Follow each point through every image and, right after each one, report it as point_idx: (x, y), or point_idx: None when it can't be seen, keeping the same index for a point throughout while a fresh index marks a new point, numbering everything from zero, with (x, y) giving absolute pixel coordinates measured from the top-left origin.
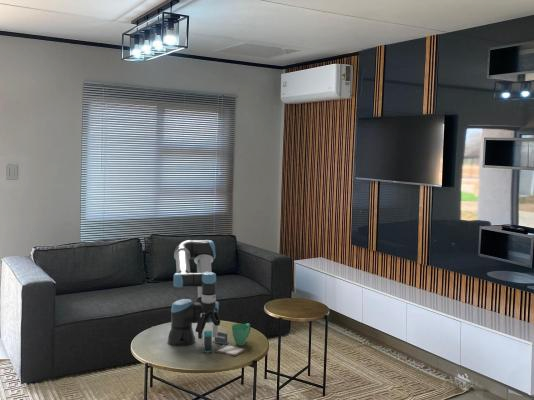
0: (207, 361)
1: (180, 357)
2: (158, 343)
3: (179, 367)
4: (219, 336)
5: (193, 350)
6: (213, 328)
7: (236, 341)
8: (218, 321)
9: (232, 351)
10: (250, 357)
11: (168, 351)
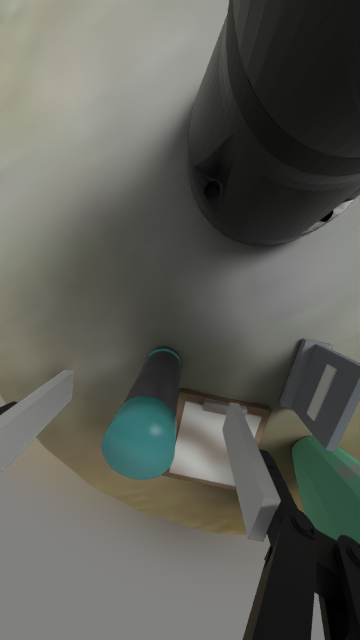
0: (72, 396)
1: (54, 272)
2: (187, 10)
3: None
4: (323, 387)
5: (159, 292)
6: (248, 465)
7: (298, 458)
8: (324, 609)
9: (194, 457)
10: (175, 512)
11: (93, 168)
